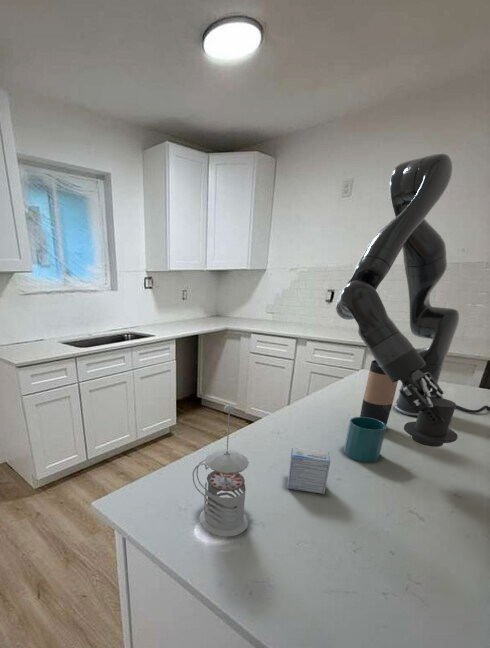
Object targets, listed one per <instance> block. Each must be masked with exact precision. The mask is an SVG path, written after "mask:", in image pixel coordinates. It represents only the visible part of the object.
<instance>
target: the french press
mask: <svg viewBox="0 0 490 648" xmlns="http://www.w3.org/2000/svg"><path fill="white" fill-rule="evenodd" d="M223 412H225V413H227V414H228V416H227V434H226V435H227V436H226V449H217V450H214V451H212V452H210V453H208V454H207V455H206V456H205V458H204V459H203V460H201V461H200V462H199V463H198V464H197V465H195V467H194V468H193V470H192V482H193V485H194V487H195V489H196V490H197V491H198V492H199V493H200V494H201V495H202V496H203V497H204V501H203V502H204V503H203V504H204V506H203V507H204V508H203V510H202V511H201V512H200V515H199V524H200V525H201V527H202V528H203V529H204V530H205V531H206V532H209V533H210V534H211V535H216V536H219V537H223V538H224V537H225V538H226V537H235V536H237V535H241V534H243V532H244V531H246V529H248V525H249V519H248V516H247V515H246V514H245V503H246V484H245V482H246V480H245V477H244V476H243V474H241V473H242V472H243V471H245V470H246V469H247V468H248V467H249V463H250V461H249V459H248V457H246V456H245V455H244V454H242V453H241V452H238V451H237V450H233V449H229V438H230V436H229V435H230V416H231V414H232V413H235V406H234V405H233V404H230V403H228V404H226V405H224V406H223ZM204 462H205V463H204ZM202 465H204V467H205V470H208V469H209V468H210V470H212V471H211V472H210V473H208V474H207V477H206V482H205V484H204V485H203V484H202V483H201V481H200V479H199V467H200V466H202ZM195 471H196V479H197V481H198V484H199V485H200V486H201V488H202V489H204V493H203V492H202V491H201V490H200V489H199V488H198V487H197V485H196V482H195ZM221 491H222V492H221ZM219 492H220V493H219ZM231 492H232V493H231ZM222 496H224V497H222ZM227 496H229V497H227Z"/></svg>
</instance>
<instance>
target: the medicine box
mask: <svg viewBox="0 0 490 648" xmlns="http://www.w3.org/2000/svg"><path fill="white" fill-rule="evenodd" d="M330 457H331V456H330V452H328V451H323V450H317V449H308V448H302V447H301V448H300V447H292V448H291V452H290V459H289V468H288V476H287V485H286V488H287V489H289V490H296V491H301V492H302V491H303V492H307V493H308V492H309V493H314V494H322V495H325V492H326V487H327V483H328V482H327V481H328V476H329V471H330V466H331V458H330Z"/></svg>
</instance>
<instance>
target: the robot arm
mask: <svg viewBox="0 0 490 648" xmlns="http://www.w3.org/2000/svg"><path fill="white" fill-rule="evenodd" d="M452 174H453V161H452V159H451V157H450V155H448V154H446V153H436V154H431V155H428V156H424V157H419V158H415V159H411V160H406V161H404V162H401V163H399V164H398V165H396V167H394V169H393V171H392V172H391V175H390V180H389V197H390V203H391V207H392V211H393V214H394V218H393V219H392V220H391V221H390V222H389V223H388V224H386V225H385V226H383V228H382V229H380V230H379V231H378V232H377V233H376V234H375V235H374V236H373V238H372V239H371V240H370V241H369V243H368V245H367V246H366V248H365V249H364V251H363V252H362V255H361V257H360V258H359V260H358V262H357V264H356V266H355V269H354V271H353V274H352V275H351V277H350V279H349V280H348V281H347V283H346V285H345V286H344V287H343V289H342V290H341V292H340V294H339V296H338V297H337V300H336V303H335V310H336V314H337V315H338V316H339V317H340V318H341V319H343V320H347V321H351V320H355V323H357V326H358V331H357V332H358V336H359V337H360V339H361V340H362V342H363V343H364V345H365V346H366V347H367V348H368V350H369V351H370V354H371V355H372V357H373V360H376V361H377V363H378V364H379V366H380V367H381V368H382V370H383V371H384V372H385V374H386V375H387V376H388V378H389V379H390V381H391V382H393V383H394V382H397V381H398V382H399V381H400V382H401V386H400V389H398V391H399V394H398V398H397V399H396V405H395V410H396V411H397V412H399V413H400V414H403V415H407V416H410V417H411V416H412V417H418V414H419V411H420V412H423V413H424V415H425V416H426V417H427V419H428V420H429V421H430V423H431V424H432V425H433V426H437V425H439V424H442V423H443V422H444V419H443V418H442V416H441V415H440V414H439V412H438V411H437V410H436V409H435V407H433V404H432V402H431V400H430V397H437V398H443V399H444V396H443V395H444V394H445V393H444V391H443V390H442V388H441V387H440V385H439V380H440V376H441V373H442V369H443V367H444V364H445V363H444V362H445V360H446V357H447V356H448V353H449V351H450V349H451V345H452V342H453V339H454V337H455V334H456V331H457V329H458V326H459V322H460V313H459V311H458V310H457V309H456V308H450V307H441V306H440V307H439V306H432V304H431V303H430V296H431V293H432V292H433V290H434V288H435V287H436V286H437V285H438V283H439V282H440V281H441V279H442V278H443V276H444V275H445V273H446V270H447V268H448V267H447V266H448V258H447V247H446V242H445V240H444V239H443V237H442V236H441V234H439V232H438V231H437V230H436V229H435V228H434V227H433V226H432V225H431V224H430V223H429V222H428V221H427V220H426V219H425V218H426V217H427V216H428V214H430V212H431V210H433V208H434V206H436V204H437V202H439V200H440V199H441V197H442V196H443V195H444V193H445V192H446V190H447V188H448V186H449V184H450V182H451V179H452ZM401 250H402V258H403V266H404V267H403V268H404V272H405V278H406V285H407V291H408V300H409V302H408V303H409V329H410V331H411V334H412V335H413V336H415V337H418V338H420V339H421V338H422V339H429V340H431V342H430V345H427V346H425V347H418V348H415V347H414V345H413V344H412V343H411V342H410V340H409V339H408V338H407V337H406V336H405V335H404V334H403V333H402V332H401V331H400V329H399V328H398V326H397V325H396V324H395V322H393V320H392V319H391V318H390V317H389V315H388V313H387V310H386V307H385V305H384V303H383V301H382V298H381V297H380V295H379V293H378V291H377V288H378V287H379V286H380V284H381V283H382V281H383V280H384V279H385V278H386V276H387V274H388V273H389V272H390V270H391V268H392V266H393V265H394V263H395V261H396V259H397V258H398V256H399V254H400V252H401ZM421 403H422V404H421ZM455 409H457V410H461V411H463V412H466V413H469V414H470V413H471V414H477V413H482V412H483V411H484V410H487V411H490V406H489V405H483V406H482V407H481V408H478V409H468V408H465V407H463V406H460V405H458V404H456V407H455Z"/></svg>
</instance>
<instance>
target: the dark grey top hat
mask: <svg viewBox="0 0 490 648" xmlns="http://www.w3.org/2000/svg"><path fill="white" fill-rule="evenodd" d="M430 400H431V402H432V404H433V407H435V409H436V410H437V411H438V412H439V414H440V415H441V416H442V418H443V419H444V422H443V423H442V424H439V425H437V426H433V425H432V424H431V423H430V421H429V420H428V419H427V417H426V416H425V415H424V413H423V412H420V411H419V414H418V416H416V421H408V422H406V423H405V424H404V426H403V430H404V432H405V433H407V435H409V436H411V440H412V441H413V442H415V443H417V444H419V445H422V446H425V447H430V448H431V447H432V448H439V447H442V446H443V445H444V444H451V443H455V442H456V441H457V440H458V436H459V435H458V433H457V432H455V431H454V430H453V429H451V428H450V426H451V422H452V419H453V416H454V413H455V410H456V408H455V407H456V405H457V404H456V402H454V401H453V400H450V399H447V398H444V397H443V398H437V397H430ZM421 404H422V403H421Z"/></svg>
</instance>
